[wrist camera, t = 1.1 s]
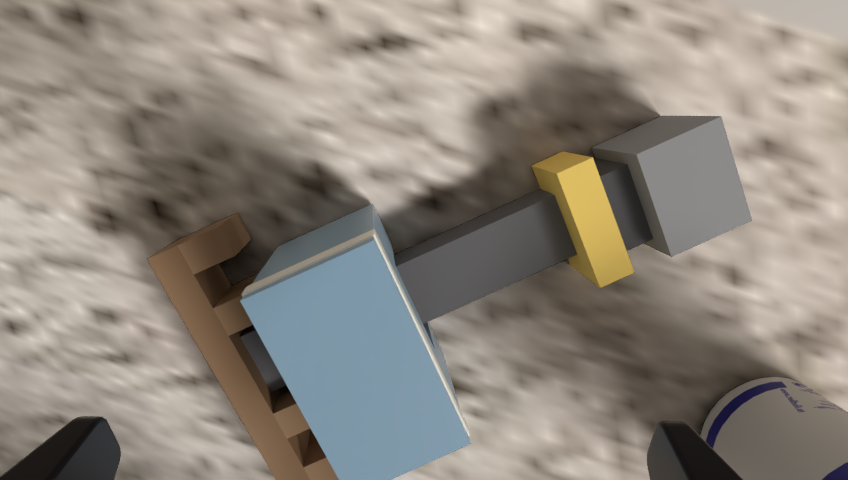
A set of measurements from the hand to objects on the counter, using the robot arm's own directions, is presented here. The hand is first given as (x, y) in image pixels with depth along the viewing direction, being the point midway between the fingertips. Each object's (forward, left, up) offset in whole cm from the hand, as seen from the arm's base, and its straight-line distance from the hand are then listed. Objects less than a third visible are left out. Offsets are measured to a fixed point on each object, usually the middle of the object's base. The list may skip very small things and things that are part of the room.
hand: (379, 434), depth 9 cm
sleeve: (-1, -1, -11) cm, 11 cm away
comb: (-4, -1, -11) cm, 12 cm away
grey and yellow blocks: (+3, -1, -11) cm, 12 cm away
